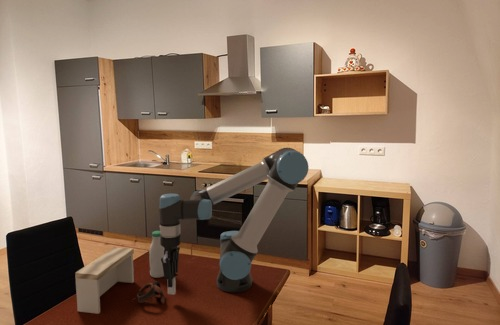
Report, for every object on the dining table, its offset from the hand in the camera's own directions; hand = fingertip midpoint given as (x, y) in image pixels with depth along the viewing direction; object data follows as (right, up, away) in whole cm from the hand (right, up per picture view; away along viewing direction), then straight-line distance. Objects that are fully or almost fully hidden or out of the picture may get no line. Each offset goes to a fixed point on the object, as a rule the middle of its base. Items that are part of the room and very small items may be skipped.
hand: (171, 293), depth 144 cm
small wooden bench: (-26, -3, +5) cm, 27 cm away
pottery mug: (-8, -4, +2) cm, 9 cm away
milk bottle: (-11, 0, +25) cm, 27 cm away
